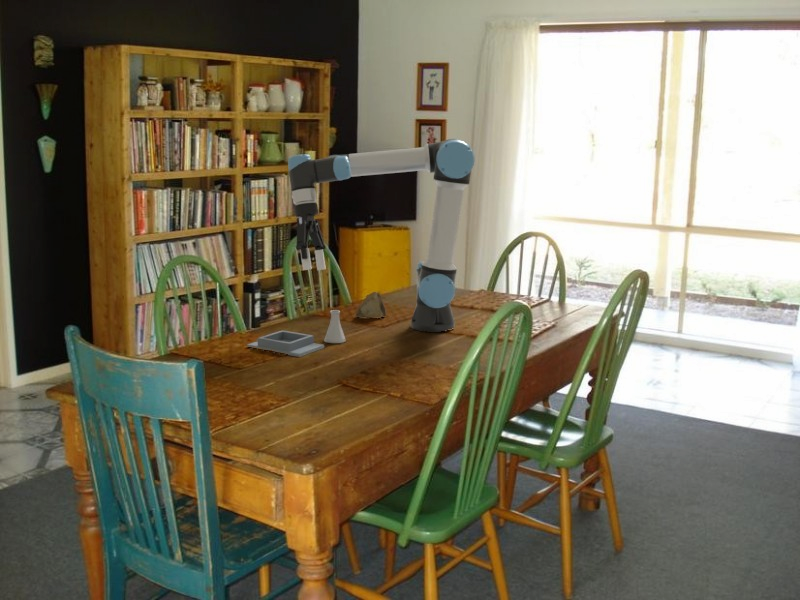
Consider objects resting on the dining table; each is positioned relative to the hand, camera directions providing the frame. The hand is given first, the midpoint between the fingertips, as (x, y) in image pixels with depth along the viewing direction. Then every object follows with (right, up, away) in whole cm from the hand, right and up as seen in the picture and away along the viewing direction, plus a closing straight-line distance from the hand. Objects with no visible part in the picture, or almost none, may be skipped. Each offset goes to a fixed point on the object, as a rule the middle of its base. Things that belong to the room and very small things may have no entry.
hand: (314, 269), depth 293 cm
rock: (+17, -16, +38) cm, 45 cm away
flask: (+6, -23, +3) cm, 24 cm away
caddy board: (-8, -25, -6) cm, 27 cm away
